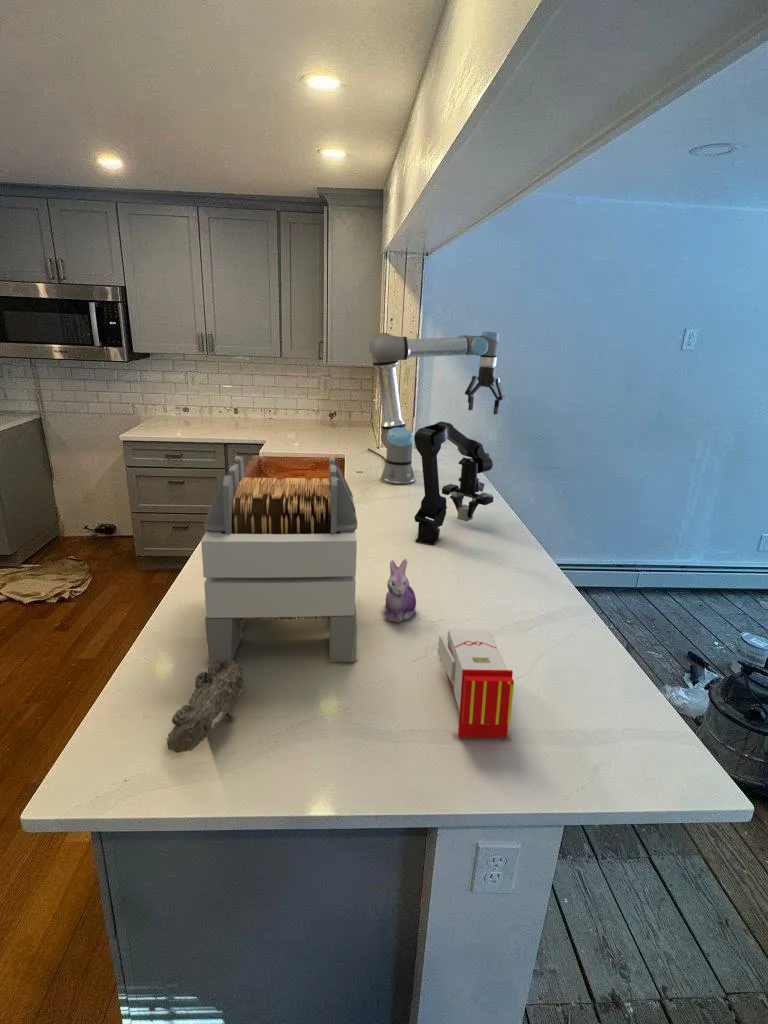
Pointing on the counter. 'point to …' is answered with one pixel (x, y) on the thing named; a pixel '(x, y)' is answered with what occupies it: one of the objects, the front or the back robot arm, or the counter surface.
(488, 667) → the toy
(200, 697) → the fossil
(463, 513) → the block
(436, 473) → the front robot arm
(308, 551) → the record storage crate
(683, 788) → the counter surface
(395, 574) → the figurine
